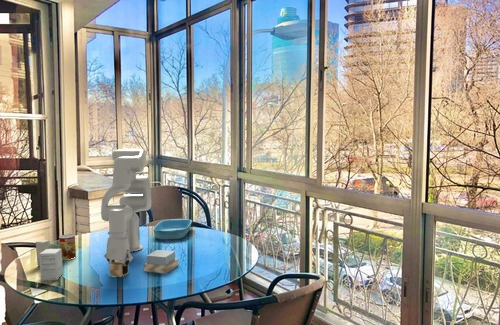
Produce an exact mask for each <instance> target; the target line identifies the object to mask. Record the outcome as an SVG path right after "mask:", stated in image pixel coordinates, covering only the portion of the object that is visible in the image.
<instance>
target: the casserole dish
mask: <svg viewBox="0 0 500 325" xmlns="http://www.w3.org/2000/svg"><path fill="white" fill-rule="evenodd" d="M192 223H193V221H192V219H186V218H174V219H173V218H171V219H165V220H164V219H163V220H160V221H159V222H158V223H157V224H156V225H154V227H153V228H152V231H153V233H154V236H155V237H156V239H158V240H180V239H183V238H184V237H186V235H187V234H188V232H189V231H190V229H191V227H192ZM175 229H176V230H175Z"/></svg>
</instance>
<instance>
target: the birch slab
mask: <svg viewBox="0 0 500 325" xmlns="http://www.w3.org/2000/svg"><path fill="white" fill-rule="evenodd" d="M177 267H179V258H176V257H175V260H173V261H172V262H170V263H169V264H167V265H154V264H147V262H145V263H144V264H143V270H144V272H148V273H157V274H158V273H159V274H168V273H170V272H171V271H172V270H174V269H176V268H177Z"/></svg>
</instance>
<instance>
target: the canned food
mask: <svg viewBox="0 0 500 325" xmlns="http://www.w3.org/2000/svg"><path fill="white" fill-rule="evenodd" d="M58 240H59V241H58V242H59V243H58V247H59V248H58V249H62V259H71V258H74V257H76V258H77V253H76V252H77V247H76V234H74V233H73V234H71V233H69V234H67V233H66V234H63V235H60V236H58ZM74 259H75V258H74ZM71 260H72V259H71Z"/></svg>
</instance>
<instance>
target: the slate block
mask: <svg viewBox="0 0 500 325" xmlns="http://www.w3.org/2000/svg"><path fill="white" fill-rule="evenodd" d="M175 258H176V251H175V250H165V249H164V250H162V249H156V250H154V251H152V252H151V253H149V254H148V255H146V263H147V264H154V265H167V264H169V263H170V262H172V261H173V260H175Z"/></svg>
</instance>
